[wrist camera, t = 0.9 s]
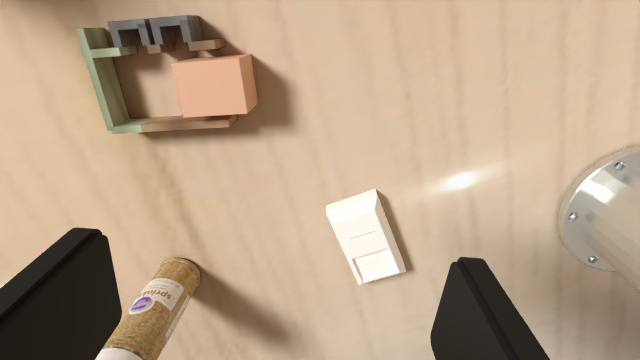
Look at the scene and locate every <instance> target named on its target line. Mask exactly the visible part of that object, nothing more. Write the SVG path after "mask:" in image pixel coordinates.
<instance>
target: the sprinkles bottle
mask: <svg viewBox="0 0 640 360" xmlns="http://www.w3.org/2000/svg"><path fill="white" fill-rule="evenodd" d="M199 283H200V272H199V270H198V268H197V267H196V266H195V265H194V264H193V263H191V262H190V261H188V260H186V259H183V258H170V259H167V260H165V261H164V262H163V263H162V264H161V265H160V267H159V270H158V271H157V273H156V274H155V276H154V277H153V278H152V280H151V281H150V282H149V283H148V284H147V285H146V287H145V288H144V289H143V291H142V292H141V293H140V295H139V296H138V298H137V299H136V300H135V302H134V303H133V304H132V306H131V308H130V310H129V311H128V312H127V314H126V315H125V317H124V318H123V319H122V321H121V322H120V324H119V325H118V326H117V328H116V329H115V330H114V332H113V333H112V335H111V336H110V338H109V339H108V341H107V342H106V344H105V345H104V347H103V348H102V350H101V351H100V353H99V354H98V356H97V357H96V359H95V360H157V358H158V357H159V355H160V353H161V351H162V349H163V348H164V347H165V345H166V343H167V342H168V340H169V338H170V336H171V334H172V332H173V331H174V329H175V327H176V325H177V323H178V321H179V319H180V317H181V316H182V314H183V312H184V310H185V308H186V306H187V304H188V302H189V299H190V297H191V295H192V294H193V292H194V290H195V289H196V288H197V286H198V285H199Z"/></svg>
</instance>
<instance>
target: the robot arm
mask: <svg viewBox="0 0 640 360" xmlns="http://www.w3.org/2000/svg"><path fill="white" fill-rule="evenodd" d="M558 231H559V236H560V238H561V240H562V242H563V244H564V246H565V247H566V248H567V249H568V250H569V252H570V253H571V254H572V255H574V256H575V257H576V258H577V259H578V260H579V261H581V262H582V263H584V264H586V265H588V266H590V267H593V268H597V269H600V270H607V271H617V272H618V273H619V274H620V275H621V276H623V277H624V278H625V279H626V280H627V281H628V282H629V283H630V284H631V285H633V286H634V287H635V288H636V289H637V290H638V291H639V292H640V145H639V146H634V147H630V148H626V149H624V150H621V151H618V152H616V153H613V154H611V155H609V156H607V157H605V158H604V159H602V160H600V161H598V162H597V163H596V164H594V165H593V166H591V167H590V168H589V169H587V170H586V171H585V172H584V173H583V174H582V175H581V176H580V177H579V178H578V179H577V180H576V181H575V182H574V184H573V185H572V186H571V188H570V189H569V190H568V192H567V193H566V195H565V197H564V199H563V201H562V203H561V206H560V210H559V214H558ZM121 316H122V309H121V304H120V298H119V293H118V288H117V283H116V278H115V273H114V268H113V263H112V257H111V252H110V247H109V242H108V238H107V237H106V236H105V235H102V232H101V231H100V230H98V229H89V228H73V229H71V230H70V231H68V232H67V233H66V234H65V235H64V236H63V237H61V238H60V239H59V240H58V241H57V242H55V243H54V244H53V245H52V246H51V247H49V248H48V249H47V250H46V251H45V252H43V253H42V254H41V255H40V256H39V257H37V258H36V259H35V260H34V261H33V262H32V263H30V264H29V265H28V266H27V267H26V268H24V269H23V270H22V271H21V272H20V273H18V274H17V275H16V276H15V277H14V278H12V279H11V280H10V281H9V282H8V283H6V284H5V285H4V286H3V287H2V288H0V360H95V359H96V357H97V356H98V354H99V353H100V351H101V350H102V348H103V347H104V345H105V344H106V342H107V341H108V339H109V338H110V336H111V335H112V333H113V332H114V330H115V329H116V327H117V326H118V324H119V322H120V320H121ZM431 346H432V349H433V353H434V356H435V359H436V360H550V359H549V357H548V356H547V354H546V353H545V351H544V350H543V348H542V347H541V345H540V344H539V342H538V341H537V339H536V338H535V336H534V335H533V333H532V332H531V330H530V328H529V327H528V325H527V324H526V322H525V321H524V319H523V318H522V317H521V315H520V314H519V312H518V311H517V309H516V308H515V306H514V305H513V303H512V302H511V300H510V299H509V297H508V296H507V294H506V293H505V291H504V289H503V288H502V286H501V285H500V283H499V282H498V280H497V279H496V277H495V276H494V274H493V273H492V271H491V270H490V268H489V267H488V265H487V264H486V262H485V261H484V260H483V259H481V258H468V257H460V258H459V259H458V261H457V262H452V264H451V266H450V269H449V273H448V276H447V280H446V283H445V286H444V290H443V293H442V297H441V300H440V304H439V307H438V310H437V314H436V317H435V321H434V324H433V328H432V331H431Z"/></svg>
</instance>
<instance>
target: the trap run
mask: <svg viewBox="0 0 640 360" xmlns="http://www.w3.org/2000/svg"><path fill="white" fill-rule="evenodd" d="M107 23H108V26H109V30H110V33H111V37H112V40H113V44H114V47H110V48H109V46H108V43H107V39H106V36H105V32H104V29H103V28H81V29H75V30H76V33H77V36H78V39H79V42H80V45H81V49H82V52H83V55H84V58H85V61H86V64H87V67H88V70H89V74H90V77H91V80H92V83H93V86H94V89H95V92H96V95H97V99H98V102H99V105H100V108H101V111H102V114H103V117H104V120H105V124H106V127H107V130H108V131H109V130H111V131H112V134H119V133H136V132H153V131H170V130H188V129H205V128H222V127H230V126H231V125H232V124H233V123H234V122H235V121H236V120H237V114H234V115H218V116H201V117H185V118H184V117H183V116H173V117H157V118H140V119H130V118H129V115H128V111H127V108H126V104H125V101H124V98H123V94H122V91H121V87H120V84H119V80H118V77H117V74H116V70H115V67H114V63H113V60H112V57H113V56H123V55H130V54H136V53H138V52H137V49H136V46H137V45H139V42H138V39H137V35H136V31H135V29H138V30H139V34H140V37H141V41H142V45H143V46H145V45H146V46H147V50H148V54H153V53H163V52H169V51H175V47H174V43H176V42H177V40H176V35H175V31H174V26H180V27H181V31H182V36H183V41H184V42H188V46H189V51H193V50H206V49H217V48H221V47H225V42H224V39H214V40H203V36H202V30H201V25H200V20H199V16H191V15H184V16H172V17H160V18H149V19H135V20H123V21H111V22H107Z"/></svg>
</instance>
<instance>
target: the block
mask: <svg viewBox="0 0 640 360" xmlns="http://www.w3.org/2000/svg"><path fill="white" fill-rule="evenodd" d="M171 65H172V69H173V73H174V78H175V82H176V87H177V91H178V95H179V100H180V104H181V108H182V113H183V117H184V118H185V117H201V116H218V115H234V114H247V113H248V112H249V111H250V110H251V109H252V108H253V107H254V106H255V105H256V104H257V103H258V100H257V93H256V86H255V79H254V72H253V65H252V58H251V54H244V55H230V56H216V57H203V58H191V59H187V60H183V61H179V62H175V63H171Z"/></svg>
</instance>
